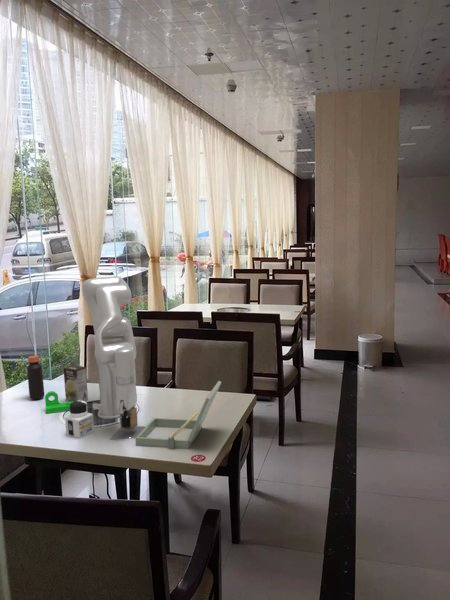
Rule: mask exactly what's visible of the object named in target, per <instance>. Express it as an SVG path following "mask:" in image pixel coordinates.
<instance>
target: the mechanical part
mask: <svg viewBox="0 0 450 600" xmlns="http://www.w3.org/2000/svg"><path fill="white" fill-rule="evenodd" d="M50 397H54V399H53V400H50ZM44 402H45V403H44V404H45V413H46V414H51V413H59V412H60V413H61V412H67V411H68V412H69V411H70V404H71V403H72V402H73V401H71V402H70V401H65V402H59V396H58V393H57V392H56V391H54V390H51V391H48V392H47V393H46V394H45V395H44Z"/></svg>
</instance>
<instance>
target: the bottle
mask: <svg viewBox="0 0 450 600" xmlns="http://www.w3.org/2000/svg"><path fill="white" fill-rule="evenodd" d="M27 358H28V359H27V360H28V366H27V368H26V373H27V382H28V383H27V384H28V395H29V398H30V399H31V400H40V399H43V398H45V386H44V384H45V383H44V376H43V375H44V374H43V366H42V364H40V356H39V355H29V356H28V357H27Z"/></svg>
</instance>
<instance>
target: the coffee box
mask: <svg viewBox="0 0 450 600" xmlns="http://www.w3.org/2000/svg"><path fill="white" fill-rule="evenodd" d="M87 378H88V377H87V367H85V366H81V365H77V364H71V365H68V366H66V367H63V380H64V381H63V382H64V392H65V395H64V396H65V402H71V401H73V402H74V401H85V402H86V401H89V394H88V393H89V392H88V391H89V389H88V379H87Z"/></svg>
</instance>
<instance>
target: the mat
mask: <svg viewBox="0 0 450 600" xmlns="http://www.w3.org/2000/svg"><path fill="white" fill-rule="evenodd" d="M145 427H146V426H144V425H143V426H142V425H141V426H140V425H139V426H138V425H137V426H136V427H135V428H134V429H133V430H129V429H121V427H120V428H119V429H118V430H117V431H116V432H115V433H114V434H113V435H112V436H111V437H110V438H109V439H108V440H109V441H115V440H116V441H118V440H130V439H129V437H131V439H135V438H136V437H137V436H138V435H139V434H140V432H141V431H142V430H143V429H144V428H145ZM125 438H126V439H125Z"/></svg>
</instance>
